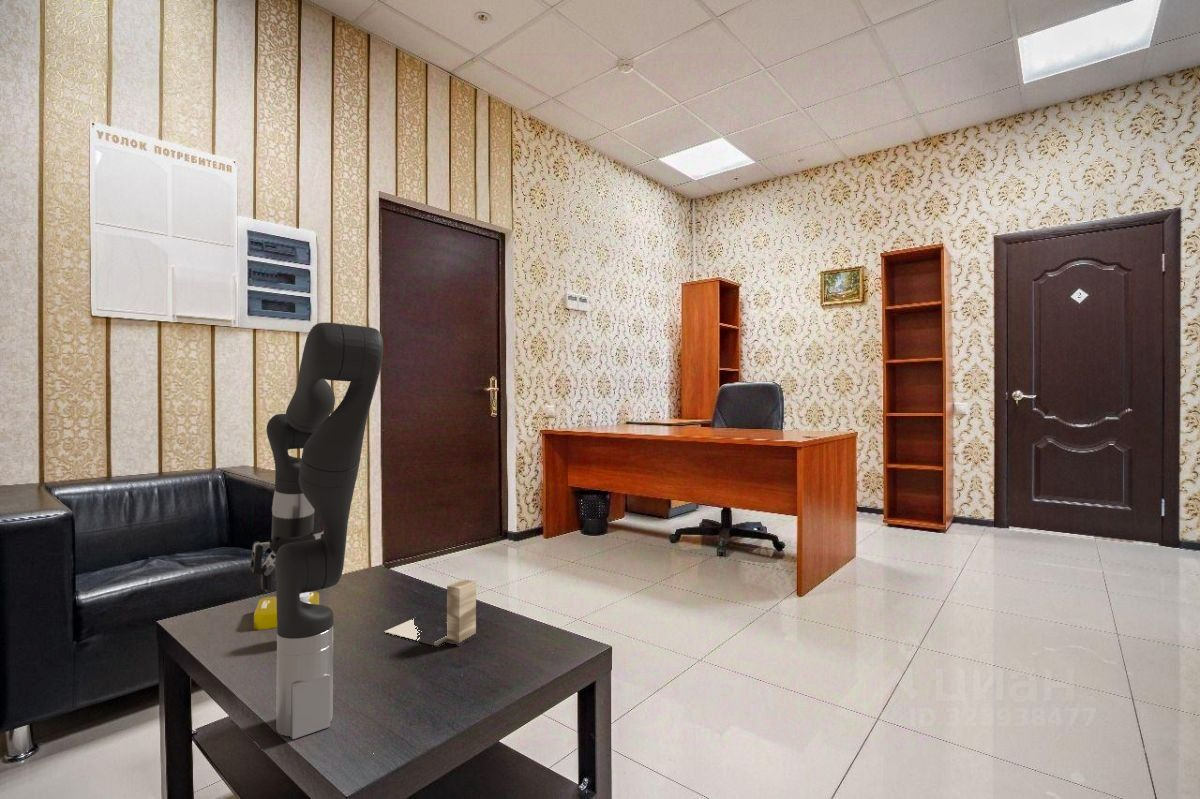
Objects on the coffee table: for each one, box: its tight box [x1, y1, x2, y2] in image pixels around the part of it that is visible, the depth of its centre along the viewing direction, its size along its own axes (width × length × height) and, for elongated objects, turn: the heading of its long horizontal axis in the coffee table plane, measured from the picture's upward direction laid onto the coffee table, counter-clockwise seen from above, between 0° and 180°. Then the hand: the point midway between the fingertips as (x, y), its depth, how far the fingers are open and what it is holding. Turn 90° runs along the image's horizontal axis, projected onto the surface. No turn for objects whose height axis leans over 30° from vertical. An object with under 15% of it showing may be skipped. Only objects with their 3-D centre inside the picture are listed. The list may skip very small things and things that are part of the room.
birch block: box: [446, 579, 477, 643], centre depth 141 cm, size 4×6×14 cm, turn 152°
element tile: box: [253, 591, 320, 631], centre depth 157 cm, size 15×15×5 cm
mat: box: [383, 618, 447, 645], centre depth 147 cm, size 18×12×1 cm, turn 62°
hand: (290, 585), depth 118 cm, fingers open, 8 cm apart
